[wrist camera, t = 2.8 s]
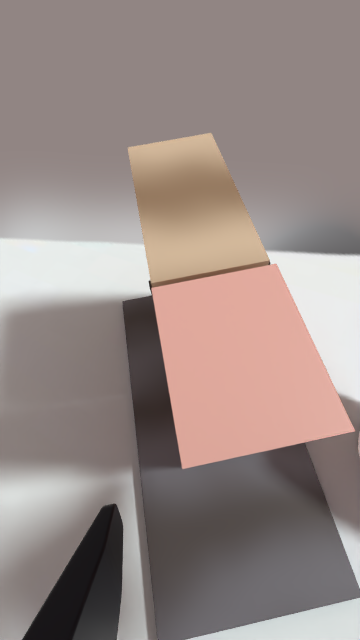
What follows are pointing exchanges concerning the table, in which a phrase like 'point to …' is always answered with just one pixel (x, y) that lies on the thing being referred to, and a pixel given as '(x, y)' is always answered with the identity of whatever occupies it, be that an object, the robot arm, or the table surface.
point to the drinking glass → (359, 445)
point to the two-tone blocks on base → (228, 475)
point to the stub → (242, 367)
